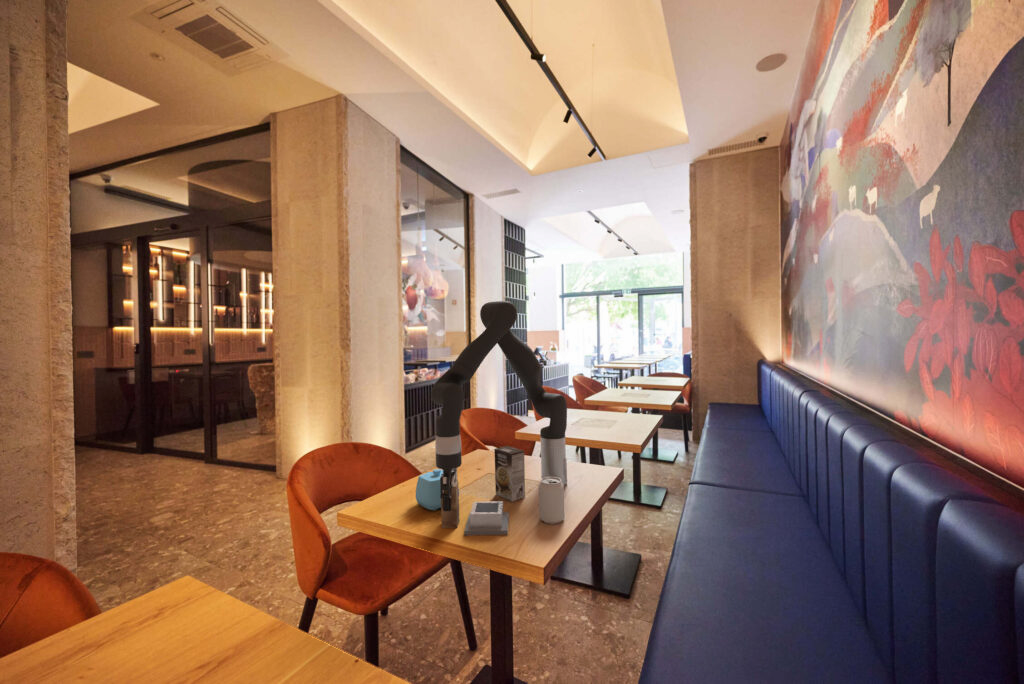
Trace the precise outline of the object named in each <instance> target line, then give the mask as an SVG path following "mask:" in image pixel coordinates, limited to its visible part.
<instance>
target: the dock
mask: <svg viewBox="0 0 1024 684" xmlns="http://www.w3.org/2000/svg"><path fill="white" fill-rule="evenodd" d="M467 517H468V518H467V520H466V524H465V528H464V531H463V532H464V533H463V534H464V536H500V535H501V536H505V535H506V536H507V535H508V534H509V533H508V532H509V519H510V513H509V511H504V501H503V500H497V501H496V500H495V501H491V500H490V501H489V500H487V501H473V503H472V506H471V509H470V512H469V514H468V516H467Z"/></svg>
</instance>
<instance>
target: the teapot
mask: <svg viewBox="0 0 1024 684" xmlns="http://www.w3.org/2000/svg"><path fill="white" fill-rule="evenodd" d="M441 474H443V470H442V469H439V468H435V469H433V470H432V471H427V472H426V473H423V474H421V475H418V478H417V483H416V488H415V499H416V502H417V504H418V505H419V506H421V507H423V508H425V509H427V510H430V511H438V510H439V509H441V497H440V495H441V491H440V478H441ZM437 509H438V510H437Z"/></svg>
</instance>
